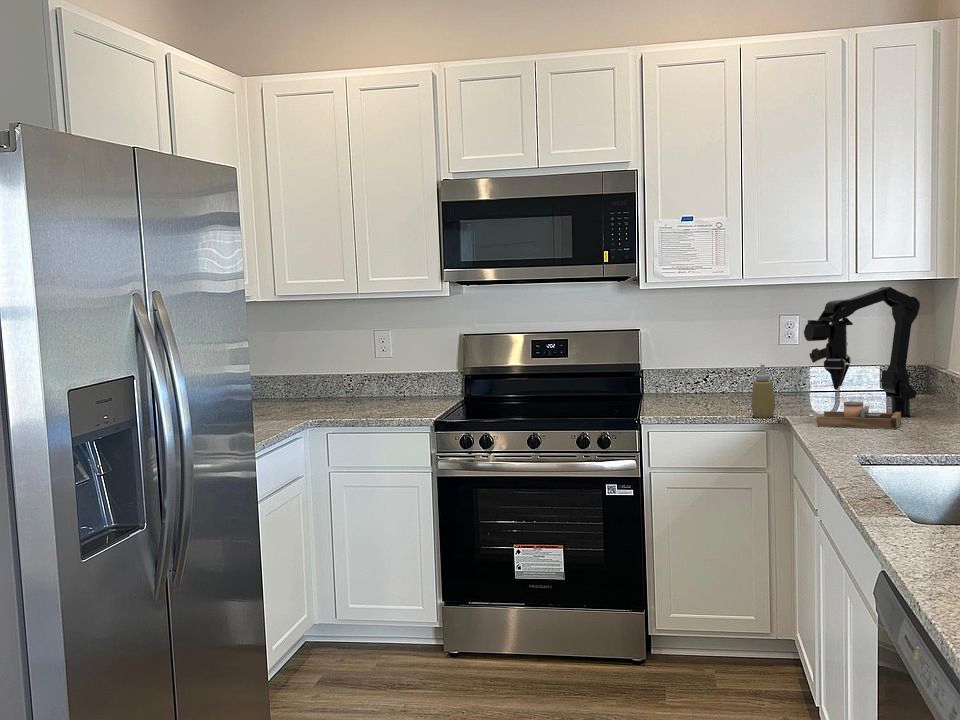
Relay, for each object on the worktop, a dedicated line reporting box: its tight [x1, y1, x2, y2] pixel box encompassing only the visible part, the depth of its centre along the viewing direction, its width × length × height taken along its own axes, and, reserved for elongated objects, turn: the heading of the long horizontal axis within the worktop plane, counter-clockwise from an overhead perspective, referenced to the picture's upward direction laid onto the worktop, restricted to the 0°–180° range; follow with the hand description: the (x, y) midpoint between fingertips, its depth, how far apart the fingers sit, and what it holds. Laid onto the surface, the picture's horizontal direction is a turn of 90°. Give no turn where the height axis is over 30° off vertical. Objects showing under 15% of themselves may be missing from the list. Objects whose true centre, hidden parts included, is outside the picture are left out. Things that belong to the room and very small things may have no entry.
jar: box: [843, 400, 864, 418], centre depth 297 cm, size 6×6×6 cm
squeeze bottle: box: [750, 364, 776, 419], centre depth 321 cm, size 8×8×18 cm
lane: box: [816, 410, 902, 430], centre depth 297 cm, size 14×23×4 cm, turn 60°
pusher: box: [861, 405, 881, 418], centre depth 295 cm, size 10×5×4 cm, turn 150°
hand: (837, 387), depth 305 cm, fingers open, 9 cm apart
